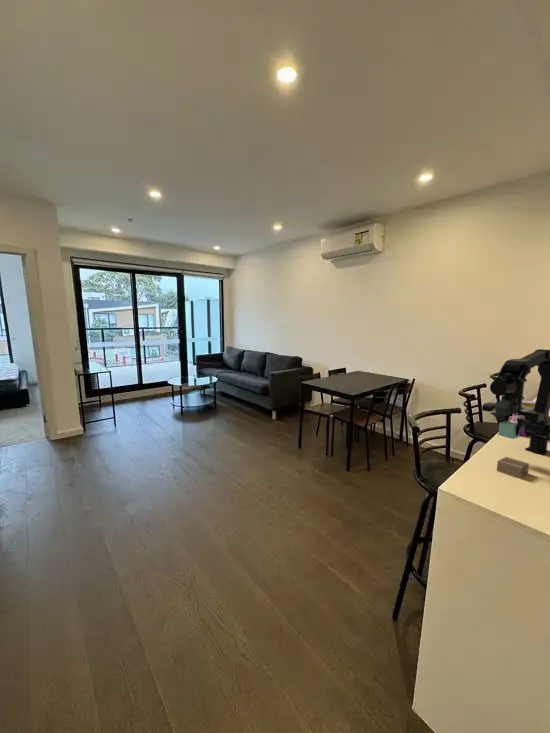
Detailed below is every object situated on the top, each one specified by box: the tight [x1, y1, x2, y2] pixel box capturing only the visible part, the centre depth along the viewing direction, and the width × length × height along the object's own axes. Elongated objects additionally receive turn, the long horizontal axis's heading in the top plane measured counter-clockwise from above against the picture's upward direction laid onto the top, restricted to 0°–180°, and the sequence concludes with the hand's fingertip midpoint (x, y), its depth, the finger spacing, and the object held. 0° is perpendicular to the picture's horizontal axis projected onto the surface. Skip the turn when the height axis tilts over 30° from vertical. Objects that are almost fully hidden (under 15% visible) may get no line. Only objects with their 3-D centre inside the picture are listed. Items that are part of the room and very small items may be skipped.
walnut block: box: [496, 456, 530, 480], centre depth 113 cm, size 7×7×4 cm
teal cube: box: [498, 420, 521, 440], centre depth 122 cm, size 5×5×5 cm
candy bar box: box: [511, 400, 536, 436], centre depth 153 cm, size 11×5×16 cm, turn 78°
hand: (509, 433), depth 123 cm, fingers closed on teal cube, 5 cm apart
